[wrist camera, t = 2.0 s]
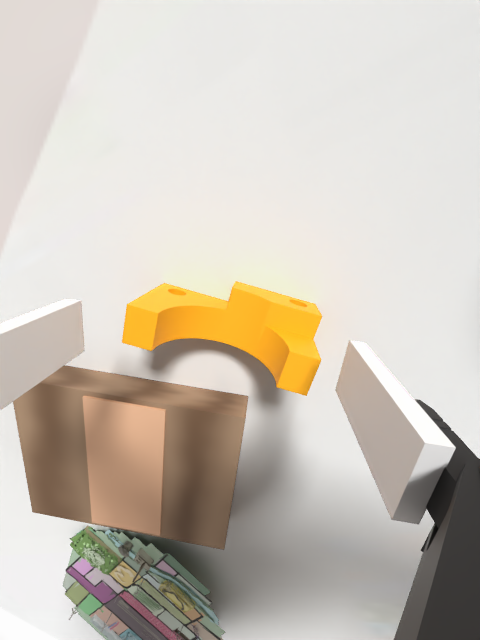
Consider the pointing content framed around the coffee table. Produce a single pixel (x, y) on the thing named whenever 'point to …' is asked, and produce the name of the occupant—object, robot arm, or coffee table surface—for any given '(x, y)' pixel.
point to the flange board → (132, 453)
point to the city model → (136, 591)
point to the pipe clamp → (233, 327)
